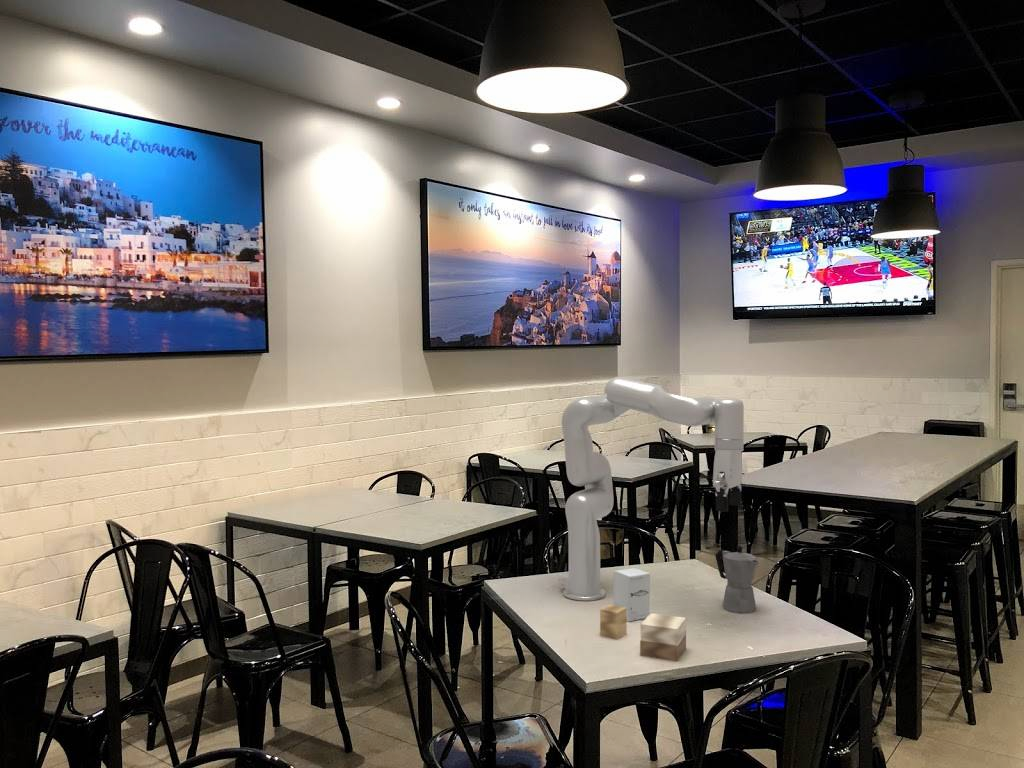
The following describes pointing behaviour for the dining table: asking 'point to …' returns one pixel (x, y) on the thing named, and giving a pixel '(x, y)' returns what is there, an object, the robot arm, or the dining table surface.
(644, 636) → the maple slab
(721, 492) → the robot arm
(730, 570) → the coffeepot
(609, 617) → the oak block
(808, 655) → the dining table surface
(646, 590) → the supplement box
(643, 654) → the walnut slab
